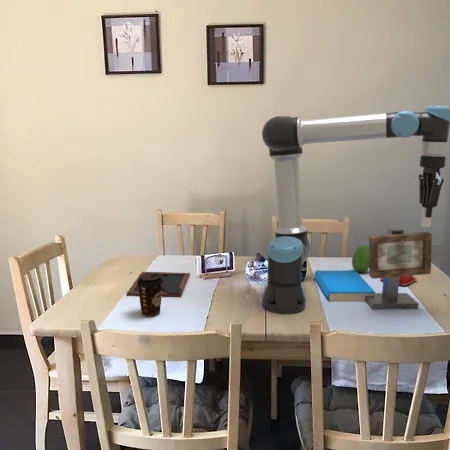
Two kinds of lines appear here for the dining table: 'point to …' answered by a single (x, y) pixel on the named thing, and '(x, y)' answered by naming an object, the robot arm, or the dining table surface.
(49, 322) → the dining table surface
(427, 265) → the picture frame
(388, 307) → the frame stand
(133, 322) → the dining table surface
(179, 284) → the picture frame
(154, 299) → the coffee cup
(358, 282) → the book
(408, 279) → the butter dish
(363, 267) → the avocado
